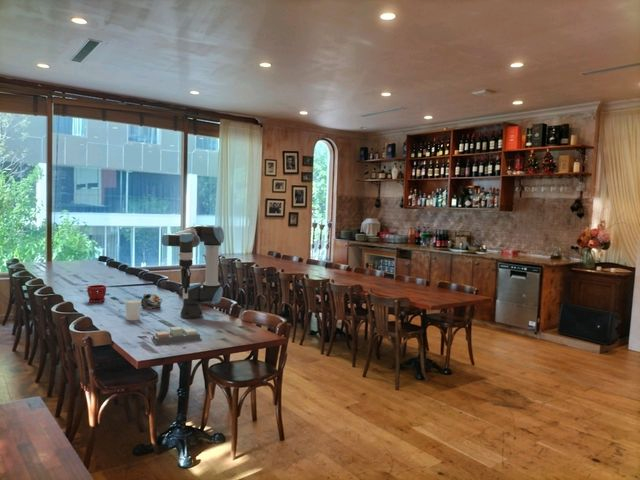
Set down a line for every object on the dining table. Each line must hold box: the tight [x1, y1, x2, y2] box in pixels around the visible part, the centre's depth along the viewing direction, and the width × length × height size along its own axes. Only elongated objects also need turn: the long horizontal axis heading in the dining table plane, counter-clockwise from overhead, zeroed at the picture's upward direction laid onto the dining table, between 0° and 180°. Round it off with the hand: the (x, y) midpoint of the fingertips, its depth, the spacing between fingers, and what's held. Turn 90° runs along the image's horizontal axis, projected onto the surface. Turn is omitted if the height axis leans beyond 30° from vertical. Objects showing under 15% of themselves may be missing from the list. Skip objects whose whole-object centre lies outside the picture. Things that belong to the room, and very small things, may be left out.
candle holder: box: [125, 299, 142, 321], centre depth 328 cm, size 10×10×12 cm
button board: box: [151, 331, 202, 346], centre depth 285 cm, size 12×26×3 cm, turn 121°
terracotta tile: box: [155, 330, 170, 338], centre depth 281 cm, size 6×6×4 cm
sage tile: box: [169, 326, 184, 336], centre depth 284 cm, size 6×6×4 cm
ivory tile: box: [183, 328, 198, 335], centre depth 289 cm, size 6×6×4 cm
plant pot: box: [86, 284, 107, 303], centre depth 376 cm, size 13×13×12 cm
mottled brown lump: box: [140, 293, 163, 310], centre depth 363 cm, size 15×12×14 cm
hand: (185, 298), depth 291 cm, fingers closed
